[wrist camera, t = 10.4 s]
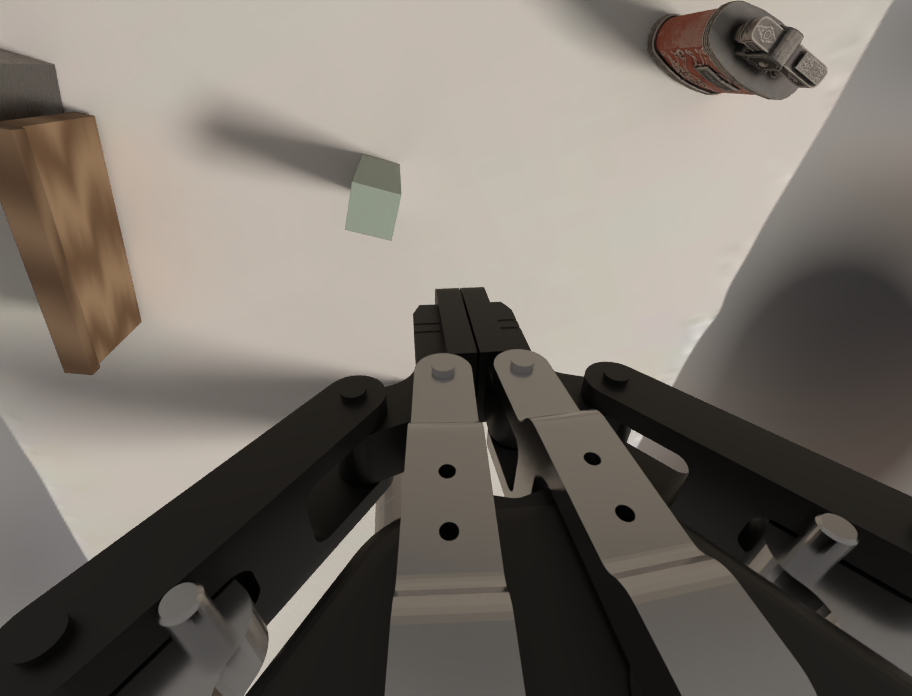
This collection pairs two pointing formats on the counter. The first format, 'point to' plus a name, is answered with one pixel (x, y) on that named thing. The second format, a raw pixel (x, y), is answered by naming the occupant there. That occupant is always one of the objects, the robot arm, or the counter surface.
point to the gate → (68, 234)
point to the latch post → (374, 198)
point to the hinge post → (27, 87)
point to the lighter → (734, 52)
